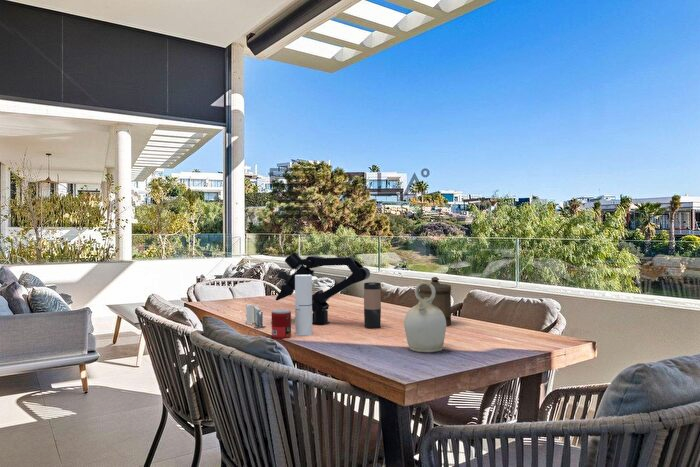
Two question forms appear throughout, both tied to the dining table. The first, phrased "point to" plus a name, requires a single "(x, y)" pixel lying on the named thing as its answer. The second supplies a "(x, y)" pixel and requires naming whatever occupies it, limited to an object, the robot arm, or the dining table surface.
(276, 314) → the canned food
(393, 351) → the dining table surface
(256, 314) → the gate
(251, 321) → the latch post
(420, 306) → the jug
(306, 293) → the cylindrical container
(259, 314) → the hinge post
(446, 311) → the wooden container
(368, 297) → the travel mug
